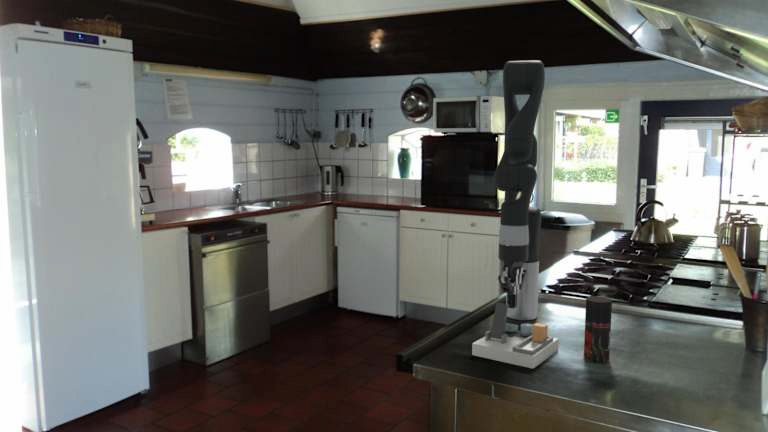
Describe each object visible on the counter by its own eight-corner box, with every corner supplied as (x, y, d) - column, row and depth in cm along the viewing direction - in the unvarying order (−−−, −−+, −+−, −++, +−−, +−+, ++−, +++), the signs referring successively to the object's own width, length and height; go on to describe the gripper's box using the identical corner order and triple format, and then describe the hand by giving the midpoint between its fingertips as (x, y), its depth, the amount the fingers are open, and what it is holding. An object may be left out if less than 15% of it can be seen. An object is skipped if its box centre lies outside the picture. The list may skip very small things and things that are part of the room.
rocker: (507, 329, 168) (507, 323, 168) (517, 331, 166) (518, 325, 166) (500, 329, 165) (501, 323, 165) (511, 331, 163) (512, 325, 163)
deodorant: (610, 364, 152) (613, 303, 150) (585, 362, 153) (587, 301, 151) (607, 356, 158) (610, 296, 156) (582, 354, 159) (584, 295, 157)
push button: (523, 331, 166) (523, 322, 166) (535, 333, 164) (535, 324, 164) (518, 334, 163) (518, 325, 163) (530, 337, 162) (530, 327, 161)
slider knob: (535, 338, 161) (536, 322, 160) (547, 340, 159) (547, 324, 159) (532, 340, 159) (532, 325, 159) (543, 342, 157) (544, 327, 157)
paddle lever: (491, 337, 161) (498, 302, 162) (502, 340, 159) (508, 304, 161) (490, 337, 160) (496, 302, 162) (501, 339, 158) (507, 303, 160)
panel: (500, 338, 171) (500, 320, 170) (558, 350, 162) (558, 331, 161) (472, 355, 158) (472, 335, 158) (533, 368, 149) (533, 348, 148)
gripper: (511, 237, 171) (509, 300, 173) (488, 243, 161) (487, 310, 163) (537, 239, 167) (535, 304, 169) (516, 246, 156) (514, 315, 158)
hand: (511, 307), depth 166 cm, fingers closed
